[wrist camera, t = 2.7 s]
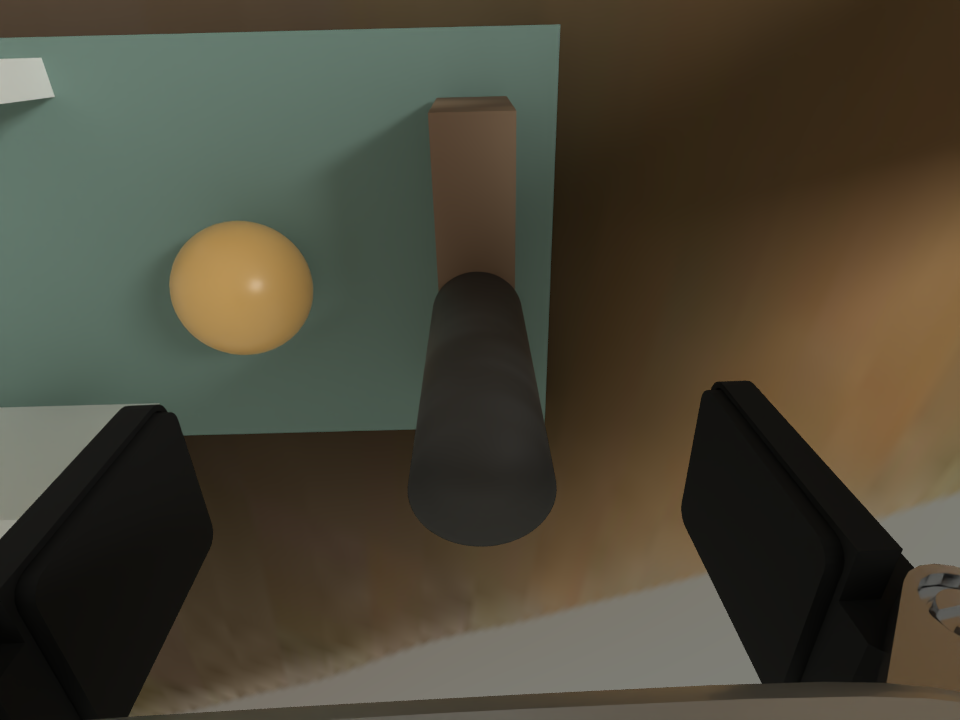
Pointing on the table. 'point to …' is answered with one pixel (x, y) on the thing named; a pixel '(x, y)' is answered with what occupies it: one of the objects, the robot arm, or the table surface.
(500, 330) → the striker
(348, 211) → the game board
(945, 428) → the table surface
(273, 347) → the ball
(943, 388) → the table surface
